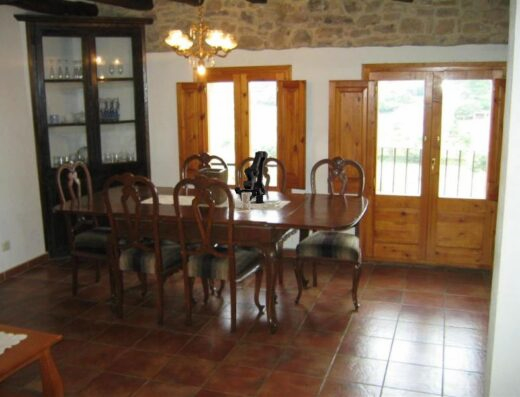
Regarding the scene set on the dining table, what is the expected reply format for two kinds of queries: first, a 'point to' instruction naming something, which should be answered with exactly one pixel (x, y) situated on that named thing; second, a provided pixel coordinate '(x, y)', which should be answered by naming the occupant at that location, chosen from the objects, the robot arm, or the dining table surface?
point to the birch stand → (244, 205)
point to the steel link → (248, 200)
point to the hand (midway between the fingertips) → (245, 200)
